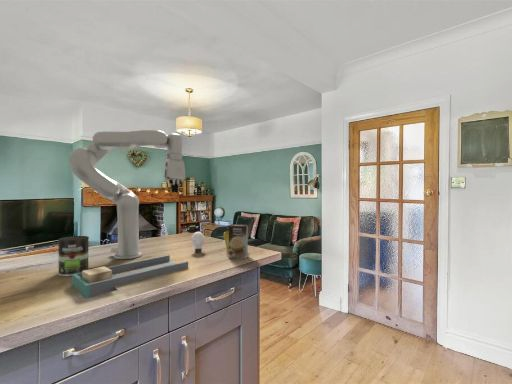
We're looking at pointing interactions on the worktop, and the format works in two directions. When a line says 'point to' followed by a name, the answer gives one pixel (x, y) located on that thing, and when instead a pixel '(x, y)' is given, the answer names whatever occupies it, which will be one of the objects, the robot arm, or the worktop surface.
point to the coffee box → (238, 241)
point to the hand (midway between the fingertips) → (174, 192)
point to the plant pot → (226, 239)
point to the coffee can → (73, 255)
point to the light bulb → (198, 241)
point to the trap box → (127, 275)
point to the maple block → (96, 274)
